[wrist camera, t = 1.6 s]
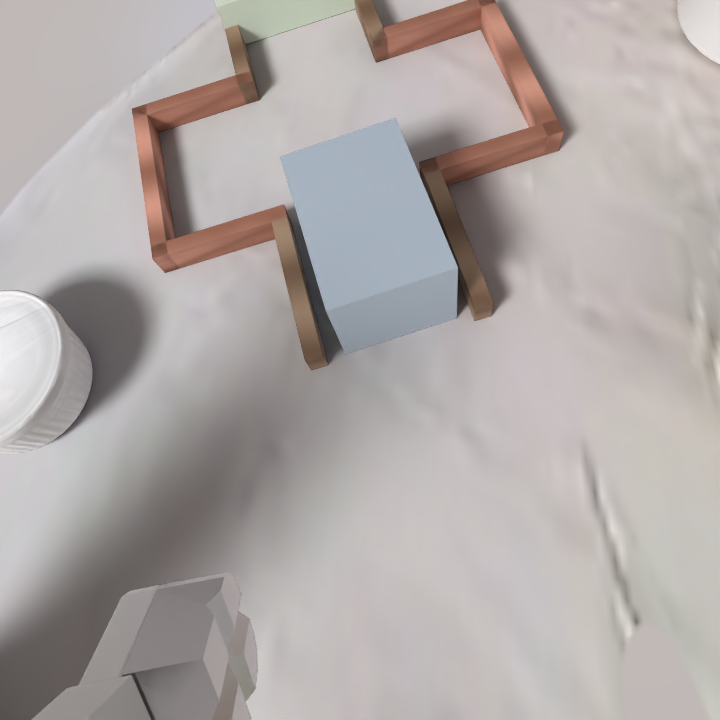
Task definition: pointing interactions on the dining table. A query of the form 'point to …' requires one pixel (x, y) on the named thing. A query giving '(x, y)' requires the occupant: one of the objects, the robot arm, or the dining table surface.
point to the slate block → (372, 236)
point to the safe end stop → (276, 15)
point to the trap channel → (433, 172)
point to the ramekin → (38, 373)
